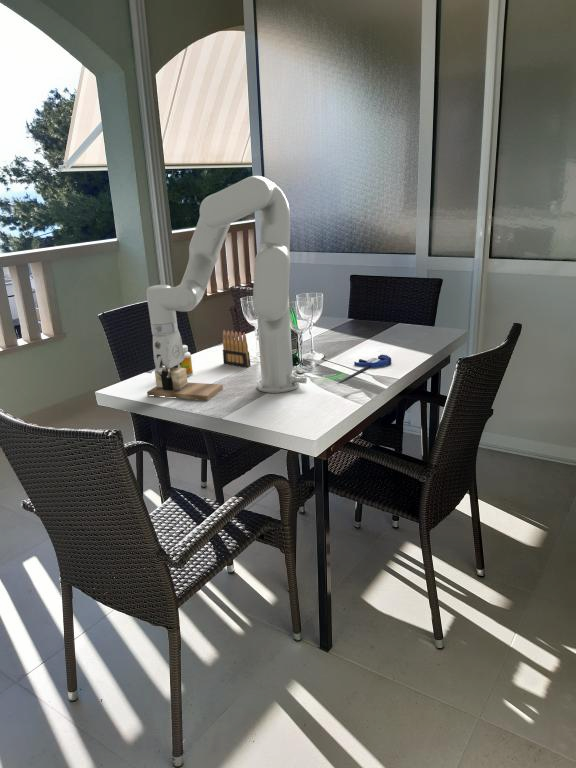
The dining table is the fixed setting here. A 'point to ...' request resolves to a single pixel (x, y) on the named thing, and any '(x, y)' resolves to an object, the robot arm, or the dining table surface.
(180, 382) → the block
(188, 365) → the supplement bottle
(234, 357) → the ammunition clip
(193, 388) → the board
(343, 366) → the dining table surface
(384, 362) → the bar clamp
